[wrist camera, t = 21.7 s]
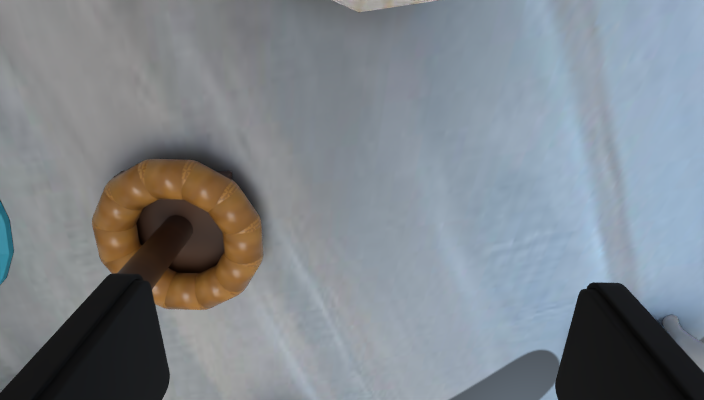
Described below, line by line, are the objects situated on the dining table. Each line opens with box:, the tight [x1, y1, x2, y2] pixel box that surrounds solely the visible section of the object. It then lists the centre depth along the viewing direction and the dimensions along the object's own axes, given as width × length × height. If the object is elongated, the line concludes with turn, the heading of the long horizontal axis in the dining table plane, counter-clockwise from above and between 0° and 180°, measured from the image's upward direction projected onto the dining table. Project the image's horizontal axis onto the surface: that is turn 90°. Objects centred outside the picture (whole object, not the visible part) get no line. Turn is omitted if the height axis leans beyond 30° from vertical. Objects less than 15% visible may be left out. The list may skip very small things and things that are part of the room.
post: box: [114, 171, 232, 289], centre depth 32 cm, size 9×9×14 cm
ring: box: [92, 159, 263, 310], centre depth 35 cm, size 13×13×3 cm
